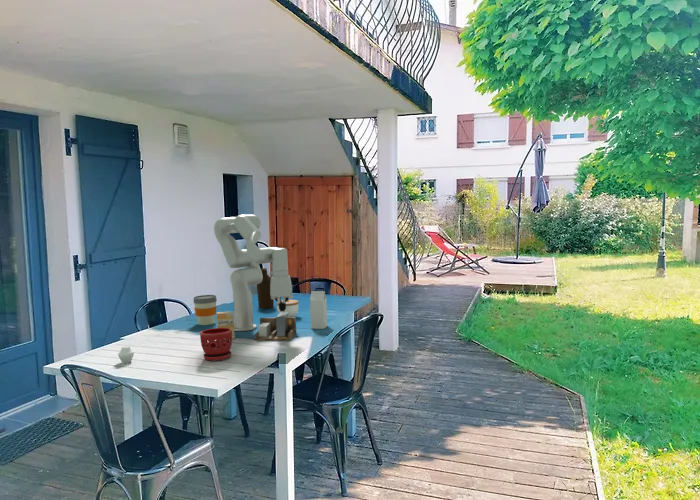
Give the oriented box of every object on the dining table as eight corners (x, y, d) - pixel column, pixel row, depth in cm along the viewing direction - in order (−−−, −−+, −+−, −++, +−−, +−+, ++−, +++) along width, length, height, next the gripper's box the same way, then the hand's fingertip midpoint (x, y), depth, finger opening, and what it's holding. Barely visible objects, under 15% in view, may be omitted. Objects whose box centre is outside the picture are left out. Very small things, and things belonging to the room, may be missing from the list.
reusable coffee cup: (214, 325, 281) (213, 298, 280) (191, 326, 281) (190, 299, 280) (220, 320, 294) (218, 294, 292) (198, 321, 294) (196, 295, 292)
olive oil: (277, 306, 327) (275, 267, 325) (263, 309, 320) (261, 269, 318) (268, 304, 335) (266, 266, 333) (254, 307, 328) (252, 268, 326)
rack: (253, 340, 245) (252, 324, 244) (261, 333, 259) (260, 317, 258) (290, 340, 243) (289, 323, 243) (296, 332, 257) (295, 317, 257)
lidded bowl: (273, 319, 290) (273, 300, 289) (282, 314, 303) (281, 296, 302) (295, 319, 287) (294, 300, 286) (302, 315, 300) (301, 296, 299)
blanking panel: (276, 337, 246) (275, 316, 245) (281, 332, 256) (280, 312, 255) (285, 337, 246) (284, 316, 245) (289, 332, 255) (288, 312, 255)
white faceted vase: (136, 359, 221) (135, 343, 220) (131, 364, 215) (130, 347, 214) (122, 360, 221) (121, 344, 220) (116, 364, 214) (115, 348, 214)
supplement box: (217, 340, 248) (216, 313, 247) (217, 338, 253) (216, 312, 251) (235, 338, 250) (233, 312, 249) (234, 336, 255) (233, 310, 254)
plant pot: (239, 356, 220) (238, 329, 219) (213, 364, 210) (211, 335, 209) (221, 351, 228) (220, 325, 227) (195, 359, 218) (193, 331, 217)
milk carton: (324, 329, 263) (322, 292, 261) (311, 329, 264) (309, 292, 263) (327, 326, 270) (326, 290, 268) (314, 325, 271) (313, 290, 270)
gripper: (263, 275, 245) (265, 313, 246) (294, 274, 244) (296, 312, 245) (267, 273, 252) (269, 309, 254) (297, 272, 251) (299, 309, 253)
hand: (282, 310), depth 249 cm, fingers closed
